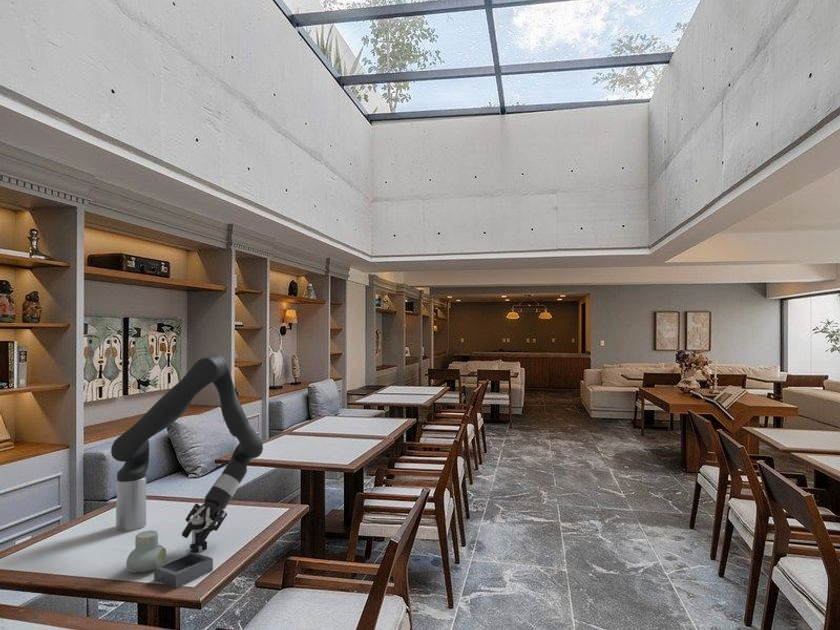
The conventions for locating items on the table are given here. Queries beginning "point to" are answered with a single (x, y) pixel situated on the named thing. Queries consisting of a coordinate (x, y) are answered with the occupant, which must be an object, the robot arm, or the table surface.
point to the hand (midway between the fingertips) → (191, 539)
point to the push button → (197, 535)
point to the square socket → (175, 579)
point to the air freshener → (146, 552)
